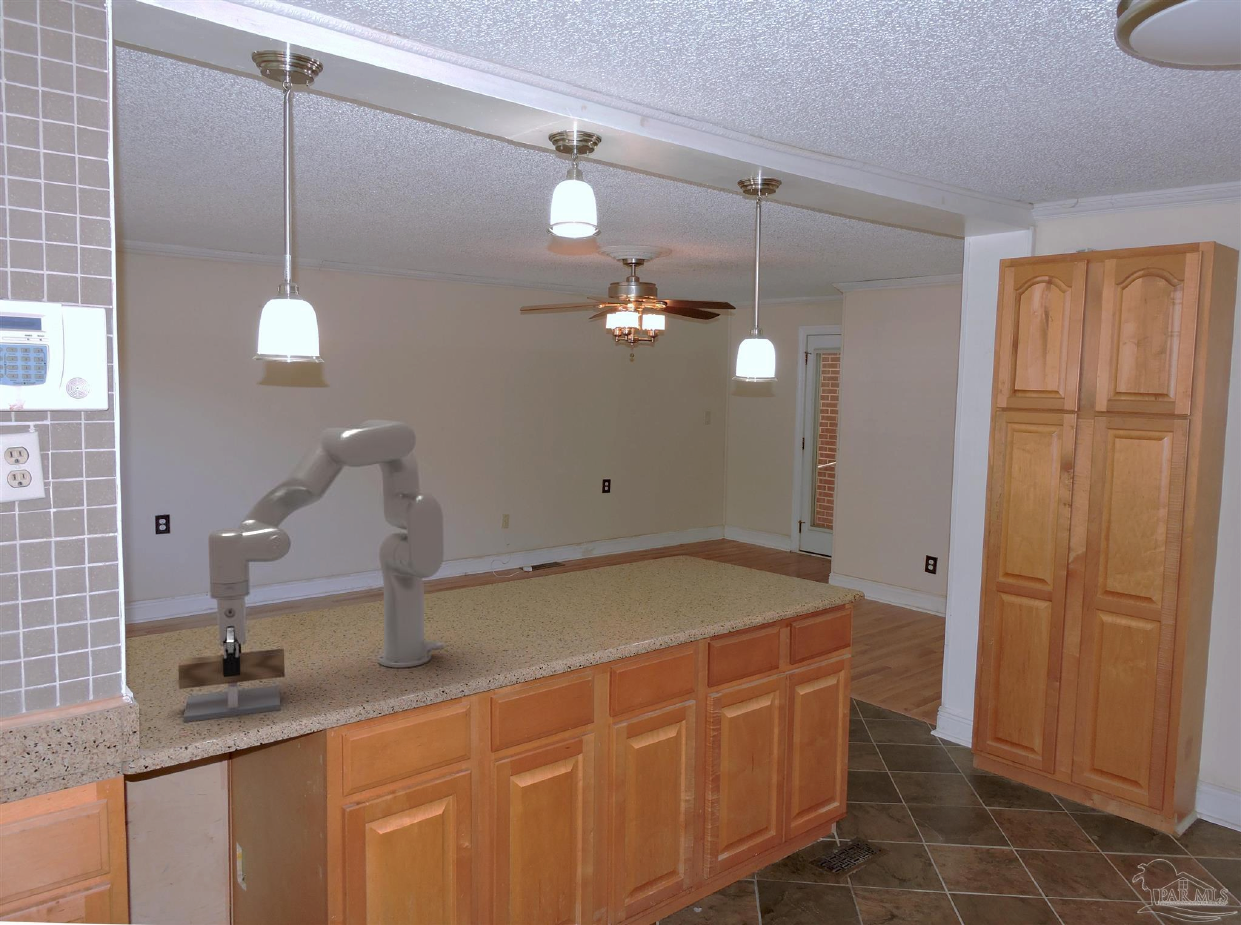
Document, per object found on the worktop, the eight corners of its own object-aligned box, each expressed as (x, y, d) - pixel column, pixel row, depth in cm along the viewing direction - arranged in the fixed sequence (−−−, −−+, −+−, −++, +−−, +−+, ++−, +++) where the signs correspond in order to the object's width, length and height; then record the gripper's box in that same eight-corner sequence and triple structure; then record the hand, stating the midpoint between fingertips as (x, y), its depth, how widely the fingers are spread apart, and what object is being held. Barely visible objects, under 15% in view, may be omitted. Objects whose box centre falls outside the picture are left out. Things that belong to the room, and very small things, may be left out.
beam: (284, 670, 184) (283, 648, 184) (284, 676, 180) (284, 653, 180) (181, 682, 176) (180, 659, 176) (179, 688, 173) (178, 665, 172)
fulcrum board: (279, 690, 188) (278, 665, 187) (280, 709, 177) (279, 683, 176) (188, 701, 181) (187, 675, 180) (183, 722, 170) (182, 695, 169)
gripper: (249, 596, 170) (251, 679, 171) (250, 578, 186) (252, 653, 187) (207, 600, 167) (210, 684, 169) (212, 580, 183) (214, 657, 184)
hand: (232, 668), depth 178 cm, fingers open, 9 cm apart
